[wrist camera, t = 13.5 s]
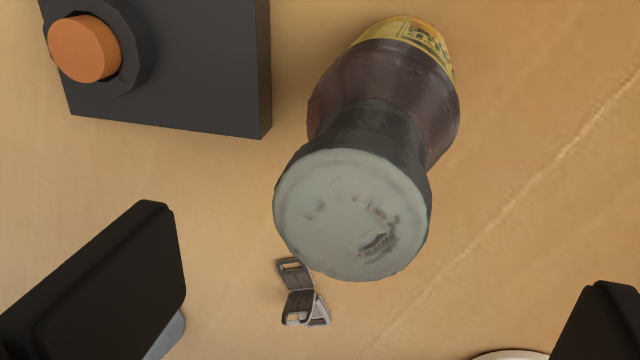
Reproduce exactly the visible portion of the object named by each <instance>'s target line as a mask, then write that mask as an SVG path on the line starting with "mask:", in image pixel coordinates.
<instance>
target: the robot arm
mask: <svg viewBox="0 0 640 360" xmlns="http://www.w3.org/2000/svg"><path fill="white" fill-rule="evenodd" d="M185 296H186V285H185V279H184V273H183V267H182V261H181V255H180V249H179V243H178V237H177V231H176V224H175V218H174V214H173V212H172V211H171V210H169V208H168V206H167V205H166V204H165V203H162V202H156V201H150V200H145V199H143V200H140V201H138V202H137V203H135V204H134V205H133V206H132V207H131V208H129V209H128V210H127V211H126V212H124V213H123V214H122V215H121V216H120V217H118V218H117V219H116V220H115V221H114V222H112V223H111V224H110V225H109V226H108V227H106V228H105V229H104V230H103V231H101V232H100V233H99V234H98V235H97V236H95V237H94V238H93V239H92V240H91V241H89V242H88V243H87V244H86V245H85V246H83V247H82V248H81V249H80V250H79V251H77V252H76V253H75V254H74V255H72V256H71V257H70V258H69V259H68V260H66V261H65V262H64V263H63V264H62V265H60V266H59V267H58V268H57V269H56V270H54V271H53V272H52V273H51V274H49V275H48V276H47V277H46V278H45V279H43V280H42V281H41V282H40V283H39V284H37V285H36V286H35V287H34V288H33V289H31V290H30V291H29V292H28V293H26V294H25V295H24V296H23V297H22V298H20V299H19V300H18V301H17V302H16V303H14V304H13V305H12V306H11V307H10V308H8V309H7V310H6V311H5V312H3V313H2V314H1V315H0V360H142V359H143V358H144V357H145V355H146V354H147V352H148V351H149V350H150V348H151V347H152V346H153V344H154V343H155V341H156V340H157V339H158V337H159V336H160V334H161V333H162V332H163V330H164V329H165V327H166V326H167V325H168V323H169V322H170V320H171V319H172V318H173V316H174V315H175V314H176V312H177V311H178V309H179V308H180V307H181V305H182V303H183V302H184V299H185ZM472 360H640V294H639V293H638V291H637V290H636V289H635V288H634V287H633V286H631V285H625V284H620V283H614V282H608V281H603V280H598V281H596V282H595V283H594V284H593V286H590V285H587V286H585V287H584V289H583V290H582V292H581V294H580V296H579V298H578V300H577V302H576V304H575V306H574V308H573V310H572V312H571V314H570V316H569V319H568V321H567V323H566V325H565V327H564V329H563V331H562V333H561V335H560V337H559V339H558V341H557V343H556V345H555V347H554V349H553V351H552V353H551V355H550V356H549V355H546V354H542V353H537V352H532V351H521V350H507V351H498V352H492V353H488V354H485V355H481V356H479V357H476V358H474V359H472Z"/></svg>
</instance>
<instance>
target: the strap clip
mask: <svg viewBox="0 0 640 360" xmlns="http://www.w3.org/2000/svg"><path fill="white" fill-rule="evenodd" d="M294 262H299V263H300V264H301V265H302V268H295V269H288V270H284V269H283V267H282V264H288V263H294ZM277 269H278V272H279V274H280V275H281V277H282V279H283V281H284V282H285V284H286V286H287V287H288V289H289V290H292V292H291V293H289V296H288V299H287V301H286V304H285V307H284V310H283V313H282V320H281V321H282V324H283V325H284V326H290V325H301V324H304V325H305V326H306V327H321V326H329V325H330V321H331V317H330V312H329V310H328V308H327V306H326V304H325V303H324V301H323V299H322V297H321V296H320V295H317V294H316V293H315V291H314V290H313V287H314V285H315V282H314V280H313V277H312V274H311V272H310V269H309V267H308V266H306V265H305V264H303V263H302V262H301V261H300V260H298V259H297V258H293V259H286V260H280V261H278V262H277ZM290 314H298V316H299V318H300V320H289V321H287V317H288V315H290ZM315 318H324V319H322V320H310V319H315Z"/></svg>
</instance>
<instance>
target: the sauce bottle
mask: <svg viewBox="0 0 640 360" xmlns="http://www.w3.org/2000/svg"><path fill="white" fill-rule="evenodd" d="M306 122H307V123H306V125H307V135H308V140H309V142H308V143H306V144H304V145H303V146H302V147H301V148H300V149H299V150H298V151H296V152H295V154H294V156H293V157H292V159H291V160H290V161H289V163H288V164H287V166H286V168H285V169H284V171H283V173H282V175H281V176H280V178H279V179H278V181H277V183H276V185H275V188H274V197H273V201H272V209H273V218H274V223H275V226H276V229H277V231H278V232H279V234H280V236H281V237H282V239H283V240H284V242H285V243H286V245H287V247H288V249H289V250H290V252H291V253H292V254H293V255H294V256H295V257H296V258H297V259H298V260H300V261H301V262H302V263H303V264H305V265H306V266H308V267H309V268H310V269H312V270H314V271H317V272H321V273H324V274H325V275H327V276H329V277H332V278H335V279H338V280H342V281H349V282H367V281H378V280H380V279H383V278H386V277H389V276H392V275H394V274H396V273H397V272H399V271H401V270H403V269H404V268H405V267H407V266H408V265H409V264H410V262H411V261H412V260H413V259H414V258H415V256H416V255H417V254H418V252H419V251H420V249H421V248H422V246H423V245H424V243H425V242H426V239H427V236H428V232H429V223H430V217H431V210H432V193H431V189H430V185H429V181H428V178H427V175H426V173H427V172H428V171H429V170H430V169H431V168H432V166H433V165H434V164H435V163H436V162H437V161H438V159H439V158H440V157H441V156H442V155H443V154H444V153H445V152H446V151H447V150H448V148H449V147H450V146H451V144H452V143H453V141H454V139H455V137H456V135H457V131H458V128H459V123H460V104H459V97H458V93H457V89H456V82H455V76H454V71H453V68H452V64H451V59H450V55H449V51H448V47H447V45H446V42H445V40H444V38H443V37H442V35H441V34H440V33H439V31H438V30H437V29H436V28H435V27H433V26H432V25H431V24H429V23H428V22H426V21H424V20H422V19H419V18H416V17H413V16H407V15H399V16H393V17H389V18H385V19H383V20H380V21H378V22H376V23H375V24H373V25H372V26H371V27H369V28H368V29H367V30H366V31H365V32H364V33H363V34H362V35H361V36H360V37H359V38H358V39H357V40H356V41H355V42H354V43H353V44H352V45H350V46H349V47H348V48H347V49H346V50H345V51H344V52H343V53H342V54H341V55H340V56H338V57H337V59H336V60H335V61H334V62H333V63H332V65H331V66H330V68H329V69H328V70H327V71H326V72H325V73H324V75H322V77H321V78H320V80H319V82H318V83H317V85H316V87H315V89H314V90H313V93H312V96H311V98H310V99H309V101H308V109H307V121H306Z"/></svg>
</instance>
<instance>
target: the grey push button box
mask: <svg viewBox="0 0 640 360" xmlns="http://www.w3.org/2000/svg"><path fill="white" fill-rule="evenodd" d="M38 3H39V6H40V10H41V13H42V17H43V20H44V25H43V32H44V36H45V39H46V43H47V46H48V40H47V37H48V31H49V29H50V27H51V25H52V24H53V23H54V22H55V21H57V20H59V19H64V18H69V17H74V16H80V15H90V16H94V17H96V18H98V19H100V20H101V21H103V22H104V23H105V24H106V25H108V26H109V28H110V29H111V30H112V31H113V32H114V34H115V36H116V37H117V39H118V41H119V44H120V47H121V53H122V60H121V64H120V67H119V69H118V70H117V71H116V72H115V73H114V74H112V75H110V76H108V77H105V78H103V79H100V80H98V81H95V82H92V83H81V82H78V81H75V80H73V79H72V78H70V77H68V76H67V75H66V74H65V73H64V72H62V70H61V69H60V68H59V67H58V66H57V68H58V71H59V75H60V78H61V82H62V85H63V88H64V92H65V95H66V99H67V102H68V105H69V109H70V112H71V115H77V116H84V117H92V118H99V119H107V120H114V121H122V122H129V123H137V124H144V125H152V126H159V127H167V128H174V129H182V130H189V131H196V132H204V133H211V134H219V135H226V136H234V137H241V138H249V139H256V140H261V139H262V138H263V137H264V136H265V134H266V133H267V132H268V131H269V130H270V129H271V128H272V87H271V46H270V4H269V0H38ZM48 49H49V47H48ZM49 53H50V51H49ZM50 56H51V54H50ZM51 58H52V56H51ZM52 60H53V58H52ZM53 61H54V60H53ZM54 62H55V61H54ZM55 64H56V63H55ZM56 65H57V64H56Z"/></svg>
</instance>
